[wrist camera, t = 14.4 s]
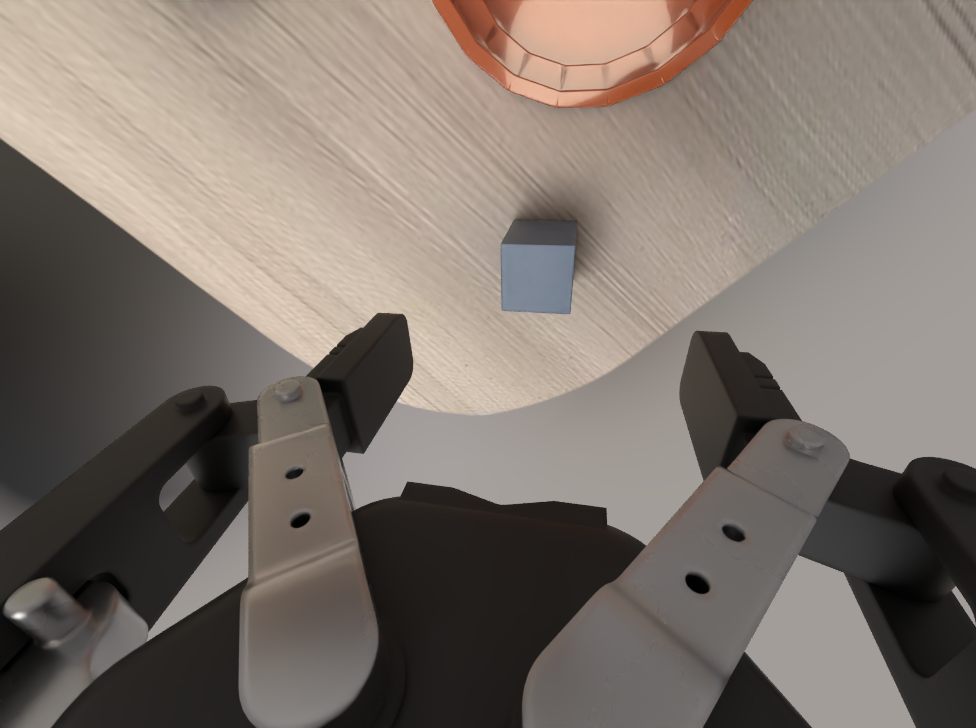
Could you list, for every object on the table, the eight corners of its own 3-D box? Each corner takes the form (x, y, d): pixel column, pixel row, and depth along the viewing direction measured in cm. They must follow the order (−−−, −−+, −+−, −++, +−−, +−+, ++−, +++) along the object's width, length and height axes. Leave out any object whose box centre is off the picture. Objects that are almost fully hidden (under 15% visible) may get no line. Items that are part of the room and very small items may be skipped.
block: (576, 220, 30) (575, 245, 25) (572, 281, 32) (570, 314, 27) (513, 219, 31) (500, 243, 26) (513, 278, 33) (501, 310, 28)
